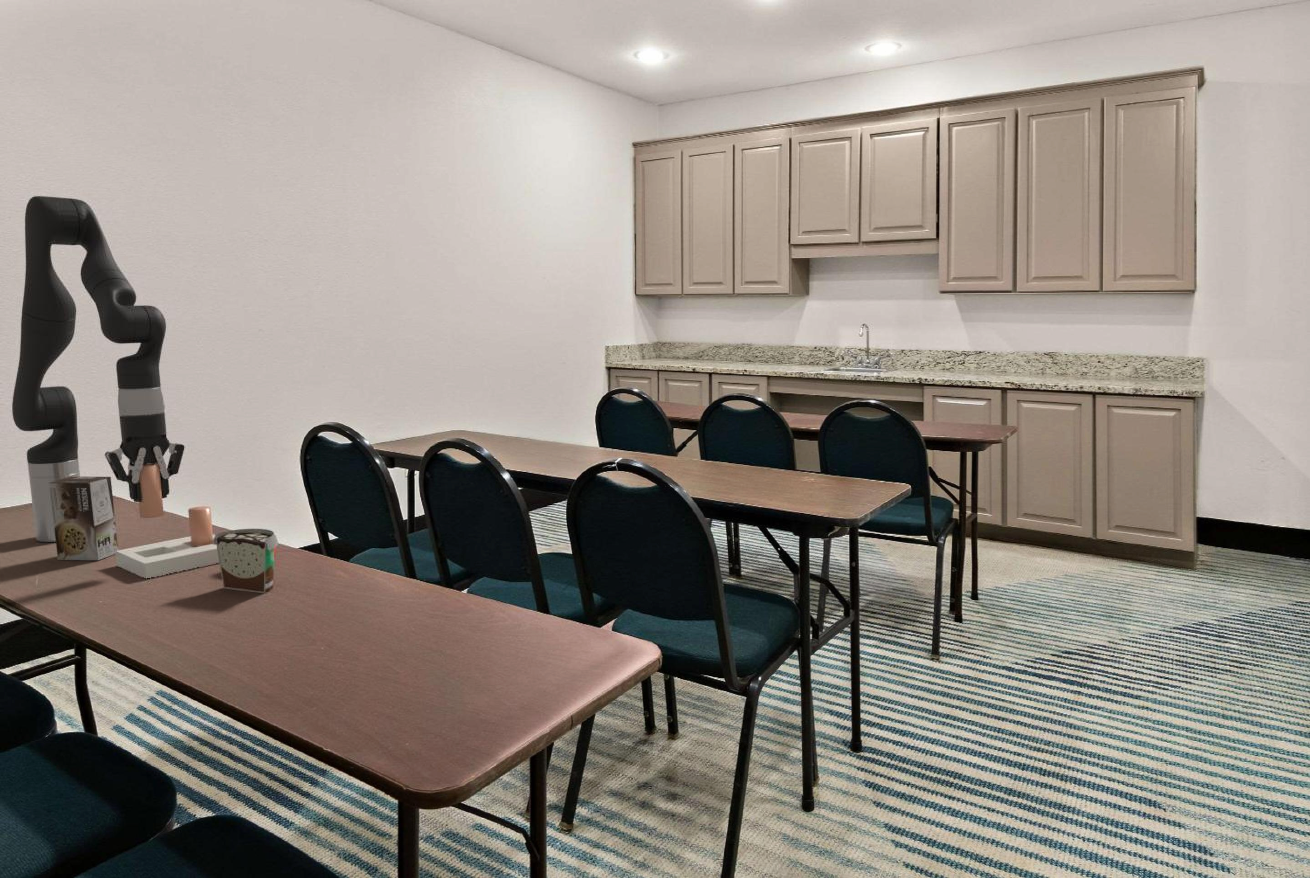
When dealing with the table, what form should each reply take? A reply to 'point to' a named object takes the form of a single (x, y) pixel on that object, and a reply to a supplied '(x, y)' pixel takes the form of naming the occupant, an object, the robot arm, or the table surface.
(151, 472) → the pin
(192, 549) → the pin board
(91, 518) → the coffee box
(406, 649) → the table surface
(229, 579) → the food container
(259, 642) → the table surface
